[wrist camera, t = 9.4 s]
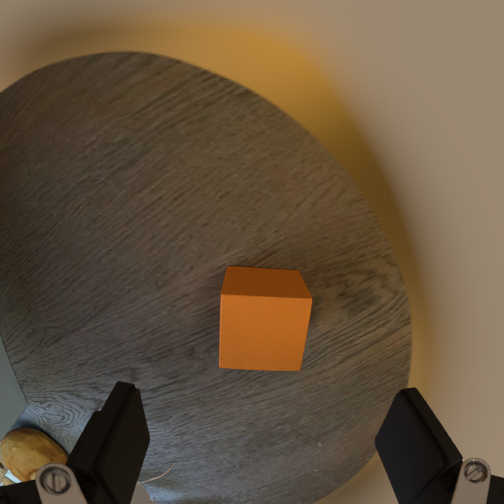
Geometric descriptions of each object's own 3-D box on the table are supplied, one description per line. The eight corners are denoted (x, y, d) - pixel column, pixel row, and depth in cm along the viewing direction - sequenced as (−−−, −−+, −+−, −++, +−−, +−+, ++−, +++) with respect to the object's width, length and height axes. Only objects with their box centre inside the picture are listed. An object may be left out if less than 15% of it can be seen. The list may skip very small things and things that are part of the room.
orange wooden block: (226, 265, 18) (220, 294, 14) (298, 269, 18) (313, 298, 14) (224, 328, 19) (218, 368, 15) (290, 331, 19) (300, 371, 15)
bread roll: (40, 462, 26) (22, 496, 18) (-2, 417, 24) (-26, 450, 16) (91, 468, 25) (73, 513, 17) (41, 417, 23) (11, 462, 15)
